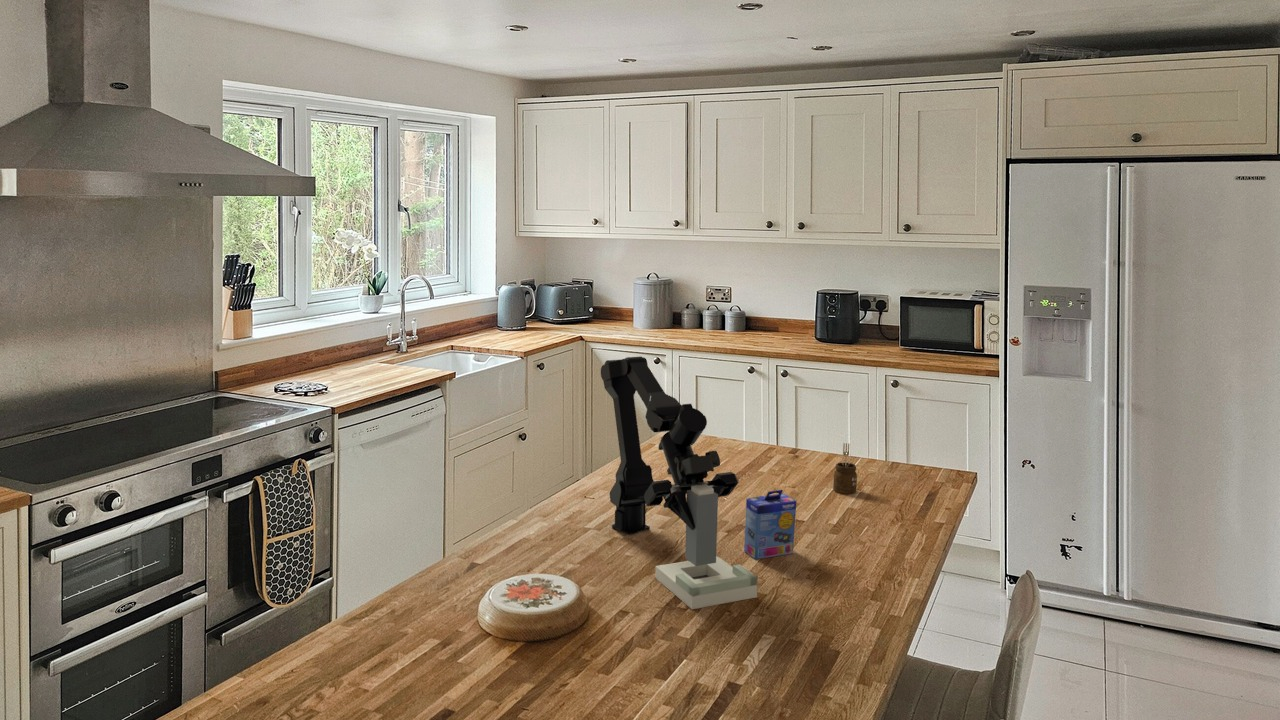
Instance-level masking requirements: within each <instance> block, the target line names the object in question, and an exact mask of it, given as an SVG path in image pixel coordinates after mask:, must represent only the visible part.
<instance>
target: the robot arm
mask: <svg viewBox="0 0 1280 720" xmlns="http://www.w3.org/2000/svg"><path fill="white" fill-rule="evenodd" d="M600 377H601V378H600V379H601V380H602V382H603V386H604V390H605V391H606V392H607V393H608V395H609V397H611V398H612V401H613V410H614V417H615V426H616V433H617V441H618V448H619V449H618V450H619V457H620V463H619V466H618V468H617V470H616V472H615V482H614V485H613V486H612V487H611V490H610V491H609V493H608V494H609V500H610V501H609V502H610V503H612V505H614V506H615V510H614V524H611V528H612V529H615V530H617V531H620V532H622V533H624V534H626V535H632V534H636V533H639V532H643V531H646V530H649V529H651V527H650V525H647V524H646V516H647V515H646V511H647V510H646V506H647V507H654V506H655V507H656V506H660V505H661V504H662V503H663V501H664V503H663V505H662V507H663V508H665V509H668V510H670V511H671V512H673V513H674V514H675V515H676V516H677V517H678V518H679V519H680V520H682V522H683V523H684V524H685V526H686V525H687V526H688V527H689V528H690V529H691V530H694V529H695V524H694V520H693V518H692V515H691V512H690V510H689V507H688V504H687V490H691V486H695V485H703V484H707V485H708V486H710V487H712V488H713V489H714V492H715V493H717V494H718V498H719V497H720V498H721V497H727V496H730V495H731V493H732V492H733V490H734V489H735V488H736V487H737V485H738V484H739V483H740V482H739V479H738V477H737V474H735V473H734V472H732V471H727V472H726V471H725V472H718V473H716V474H715V475H714V477H713V478H712V479H711V480H706V481H704V479H707V477H708V476H709V474H708V473H709V472H714V471H715V469H714V468H718V467H719V466H720V465H721V459H720V456H719V454H718V451H717V450H709V451H707V452H705V455H699V454H698V453H695V452H694V449H693V448H692V446H693V445H694V444H695V443H696V442H697V440H698V439H699V438H700V436H701V435H702V433H703V432H704V430H705V429H706V427H707V423H708V420H707V416H706V415H705V414H704V413H703V412H702V411H700V410H699V409H697V408H695V407H693V405H692V403H683V404H681V403H680V402H679V401H678V400H677V398H675V397H673V396H671V395H669V394H667V393H666V392H665V391H664V389H663V388H662V386H661V384H660V383H659V381H658V380H657V378H656V377H655V375H654V373H653V372H652V370H651V369H650V367H649V365H648V360H647V358H646V357H644V356H627V357H625V358H622V359H621V358H620V359H609V360H607V359H606V361H605V362H604V364H603V365H601V368H600ZM636 392H637V395H638V396H639V398H640V399H641V401H642V402H643V404H644V406H645V408H646V412H645V420H646V422H647V426H648V427H649V428H650V430H651V431H652V432H653V433H664V432H665V433H664V434H663V436H661V438H660V442H659V443H658V450H659V451H663V453H664V456H665V460H666V463H667V466H668V468H667V469H666V472H667V475H668V476H669V475H671V478H672V481H673V484H672V481H671V480H669V479H663V480H655V481H654V478H653V470H652V467H651V465H648V464H646V462H645V461H644V460H643V457H642V450H641V449H642V448H641V442H640V435H639V433H640V432H639V428H638V418H637V411H636V410H637V409H636V402H635V393H636Z"/></svg>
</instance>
